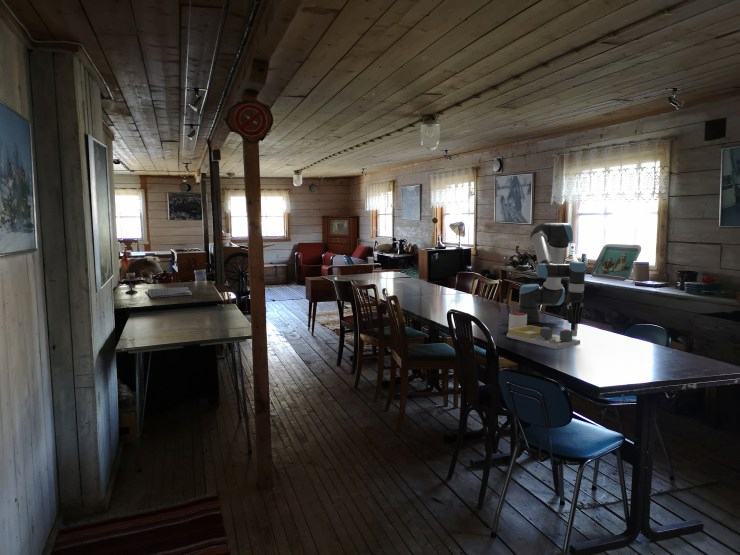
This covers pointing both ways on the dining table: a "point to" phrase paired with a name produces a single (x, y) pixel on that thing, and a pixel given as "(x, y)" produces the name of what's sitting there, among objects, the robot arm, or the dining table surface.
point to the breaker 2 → (566, 335)
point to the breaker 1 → (546, 333)
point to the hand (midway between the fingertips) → (573, 335)
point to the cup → (517, 320)
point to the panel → (546, 342)
